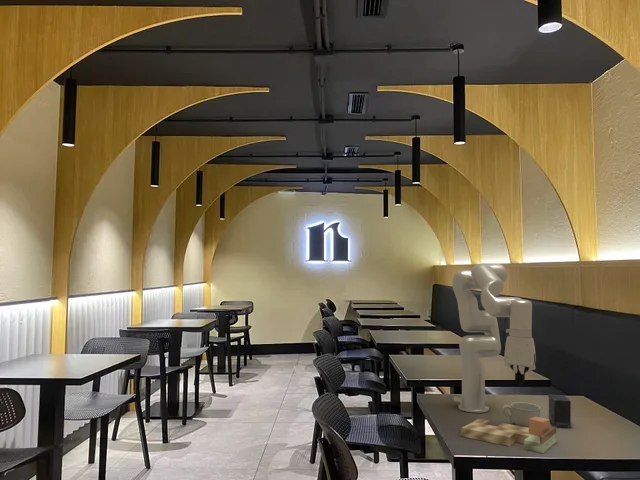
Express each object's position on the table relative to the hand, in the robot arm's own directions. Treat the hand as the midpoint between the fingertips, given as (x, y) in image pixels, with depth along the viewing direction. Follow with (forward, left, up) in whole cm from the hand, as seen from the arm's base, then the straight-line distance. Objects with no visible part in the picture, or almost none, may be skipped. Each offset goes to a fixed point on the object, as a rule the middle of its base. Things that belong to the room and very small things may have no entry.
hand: (519, 384), depth 196 cm
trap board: (-2, -7, -18) cm, 20 cm away
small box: (+7, +25, -19) cm, 32 cm away
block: (+8, -4, -15) cm, 18 cm away
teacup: (-4, +13, -19) cm, 23 cm away
